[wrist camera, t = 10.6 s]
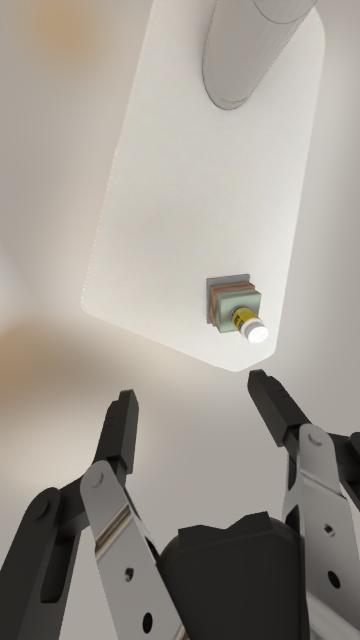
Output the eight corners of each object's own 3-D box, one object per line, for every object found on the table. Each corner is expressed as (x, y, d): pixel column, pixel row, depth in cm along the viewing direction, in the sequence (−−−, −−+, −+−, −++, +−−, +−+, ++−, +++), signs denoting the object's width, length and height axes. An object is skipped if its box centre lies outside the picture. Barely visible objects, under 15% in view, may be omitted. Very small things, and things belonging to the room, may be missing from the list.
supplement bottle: (229, 307, 37) (246, 327, 30) (249, 302, 37) (271, 321, 30) (229, 325, 40) (246, 347, 33) (249, 320, 40) (269, 342, 33)
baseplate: (206, 279, 43) (207, 280, 42) (248, 274, 44) (249, 275, 43) (206, 322, 49) (207, 323, 49) (242, 317, 50) (244, 318, 49)
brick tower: (209, 285, 43) (219, 297, 36) (247, 281, 43) (264, 291, 36) (209, 319, 48) (218, 335, 41) (243, 314, 48) (257, 329, 42)
